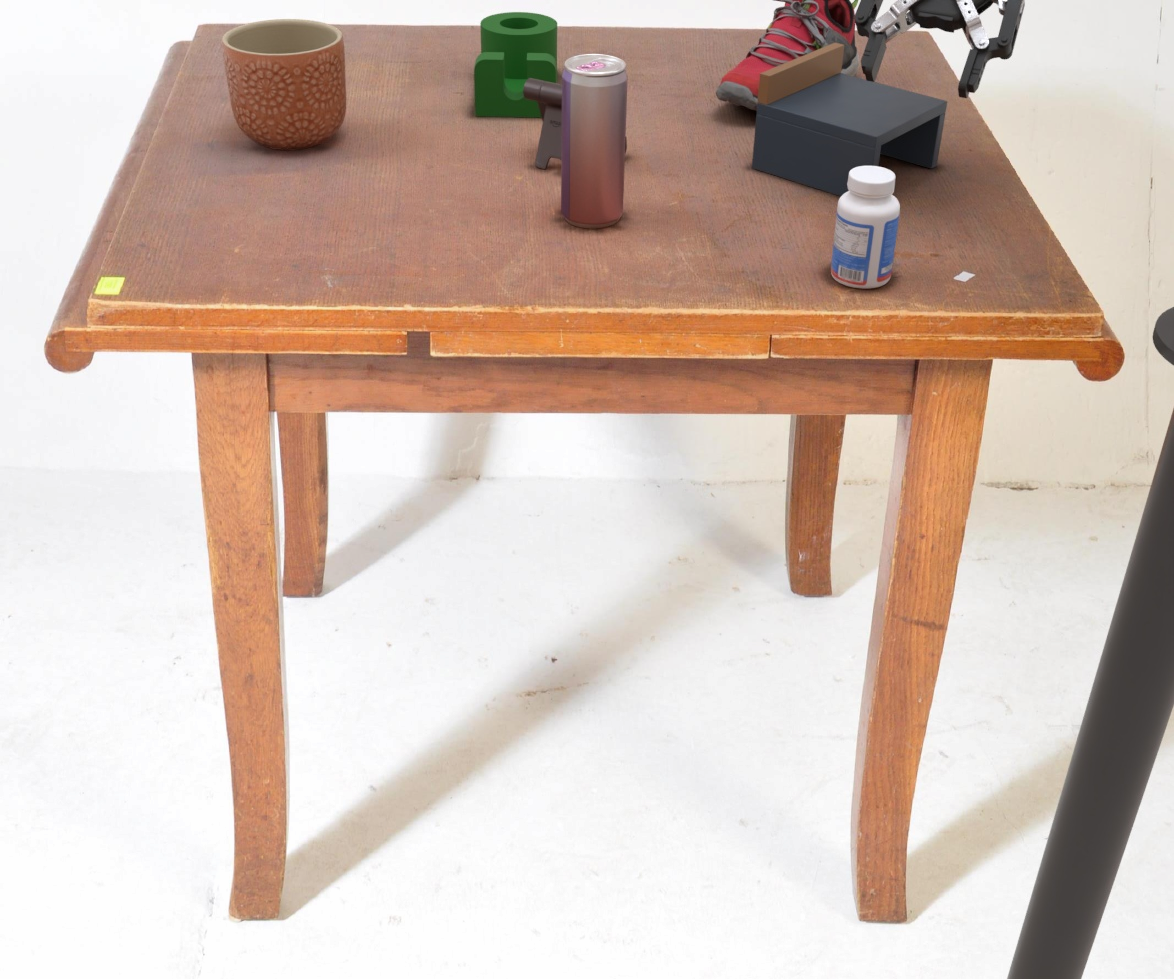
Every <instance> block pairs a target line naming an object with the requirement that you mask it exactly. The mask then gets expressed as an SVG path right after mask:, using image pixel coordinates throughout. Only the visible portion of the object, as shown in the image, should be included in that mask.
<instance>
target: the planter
mask: <svg viewBox="0 0 1174 979" xmlns="http://www.w3.org/2000/svg"><path fill="white" fill-rule="evenodd" d="M221 37H222V38H221V51H222V58H223V64H224V70H225V76H226V82H227V88H228V95H229V100H230V106H231V110H232V115H233V117H234V120H235V122H236V124H237V126H238V128H239V130H240V131H241V132H242V133H243V134H244V135H245V136H246V137H248V138H249V139H250V140H252V141H253V142H255V143H256V144H258V145H261V146H263V147H266V148H269V149H274V150H284V151H285V150H286V151H292V150H303V149H308V148H309V149H310V148H313V147H316V146H319V145H321V144H323V143H325V142H326V141H328V140H329V139H331V138H332V137H333V136H334V135H335V134H336V133H337V132H338V131H339V130H340V128H341V127H342V125H343V123H344V121H345V117H346V113H347V112H346V111H347V87H346V86H347V85H346V84H347V83H346V55H345V52H346V51H345V40H344V36H343V33H342V31H341V30H340V29H339V28H337V27H336V26H334V25H332V24H330V23H326V22H322V21H317V20H311V19H301V18H279V19H278V18H277V19H266V20H258V21H253V22H247V23H246V24H245V23H244V24H241V25H239V26H236V27H233V28H231V29H230V30H227V32H225V33H224V34H223V36H221Z"/></svg>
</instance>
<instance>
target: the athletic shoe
mask: <svg viewBox="0 0 1174 979" xmlns="http://www.w3.org/2000/svg"><path fill="white" fill-rule="evenodd" d="M773 1H775V2H781V3H784V5H783V6H779V7H776V8H775V9H774V10H773V17H772V21H771V22H770V23H769V24H768V26H767V28H766V31H765V33H764V34H762V35H761V36H760V37H759V39H758V44H757V45H754V46H751V47H750V48H749V50H748V52H747V54H746V55H745V58H744V59H743V60H741V61H740V62H739V63H738V64H737V65H736V66H735V67H734V68H732V69H731V70H729V71H728V72H727V73H726V74H725V75H724V76H723V77H721V79H720V80H721V81H720V84H719V86H717V88H716V90H715V96H716V98H717V100H719V101H721V102H728V103H729V104H732V105H735V106H743V107H745V108H747V109H749V110H751V111H756V112H757V103H758V102H757V101H758V90H759V79H760V73H762V72H765V71H767V70H770V69H772V68H775V67H777V66H779V65H782V64H784V63H787V62H789V61H792V60H794V59H796V58H799V57H801V56H804V55H806V54H809V53H811V52H813V51H816V50H818V49H821V48H823V47H826V46H828V45H830V44H833V43H839V44H843V45H844V52H843V61H842V69H841V73H843V74H847V75H850V76H854V77H856V75H857V74H858V71H859V69H860V57H859V51H858V48H857V46H856V36H855V35H856V33H855V32H856V23H855V19H854V16H855V13H856V11H855V9H856V7H857V5H858V4H859V0H853V2H851V0H773Z"/></svg>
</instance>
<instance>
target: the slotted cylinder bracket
mask: <svg viewBox="0 0 1174 979" xmlns="http://www.w3.org/2000/svg"><path fill="white" fill-rule="evenodd" d="M479 23H480V24H479V25H480V53H479V54H478V55H477V57H476V59H475V61H474V62H475V63H474V67H473V68H474V69H473V78H474V79H473V81H474V82H473V83H474V116H475V117H483V118H485V117H487V118H488V117H489V118H492V117H493V118H541V119H542V117H541V113H540V109H539V106H538V102H537V101H532V100H527V99H525V97H524V94H523V89H524V84H525V82H526V81H527V79H529V78H533V79H538V80H542V81H547V82H552V83H557V84H558V22H557V20H556V19H554V18H553V17H551V16H549V15H546V14H541V13H535V12H525V11H507V12H501V13H496V14H491V15H488V16H486V17H483V19H481V21H480V22H479Z"/></svg>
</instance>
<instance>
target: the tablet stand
mask: <svg viewBox="0 0 1174 979" xmlns="http://www.w3.org/2000/svg"><path fill="white" fill-rule="evenodd" d="M523 94H524V97H525V99H527V100H532V101H537V102H538V106H539V109H540V113H541V117H542V118H541V117H540V118H541V122H542V125H541V130H540V134H539V139H538V140H539V141H538V145H537V151H536V155H535V160H534V166H535V167H536V168H538V169H541V170H547V168H548V165H549V162H550V160H551V159H555V160H556V159H558V160H561V145H562V83H558V82H557V83H552V82H547V81H542V80H538V79H533V78H529V79H527V81H526V82H525V84H524V89H523ZM627 141H628V140H627V137H626V139H625V154H626V153H627V149H628V144H627V143H628V142H627Z"/></svg>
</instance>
